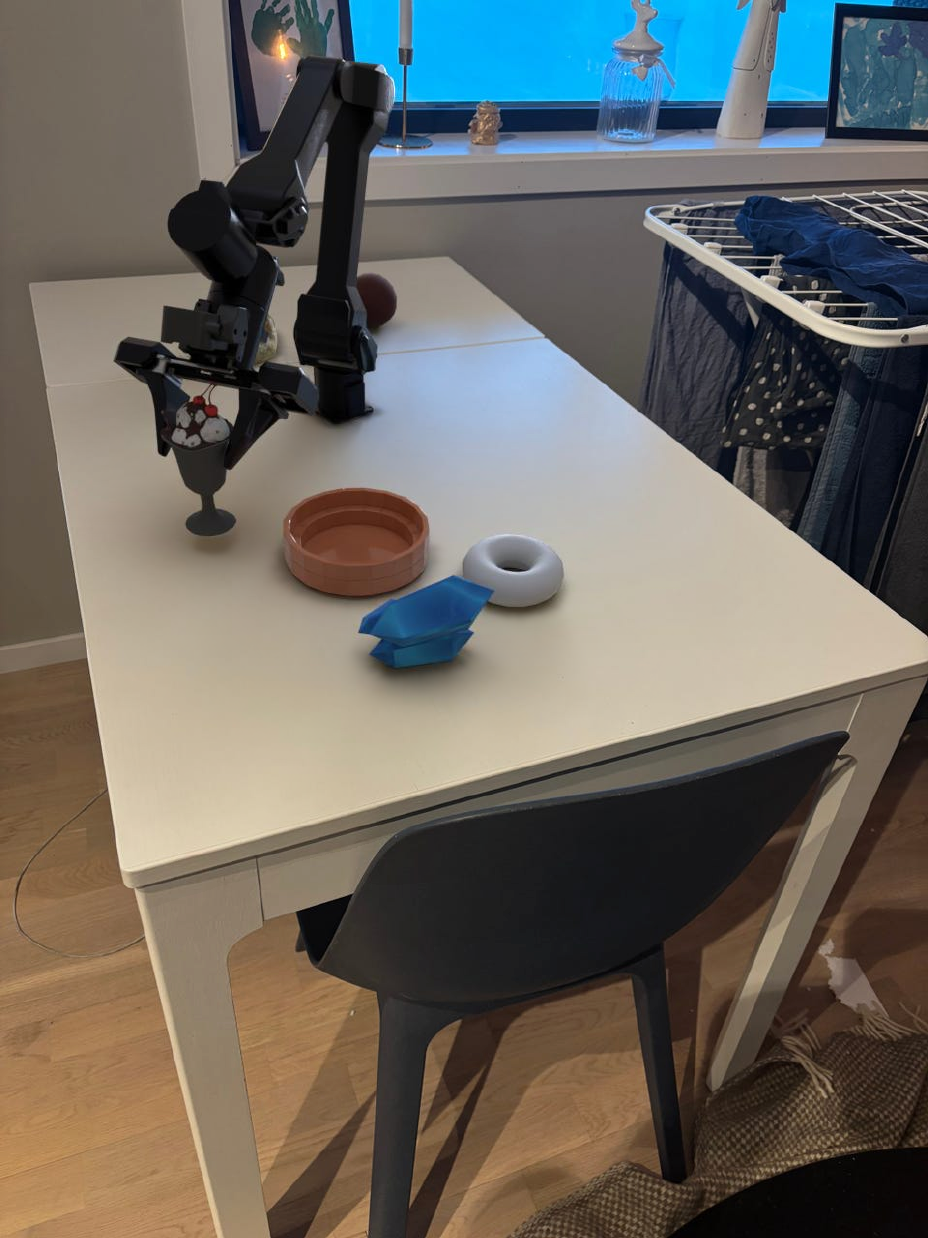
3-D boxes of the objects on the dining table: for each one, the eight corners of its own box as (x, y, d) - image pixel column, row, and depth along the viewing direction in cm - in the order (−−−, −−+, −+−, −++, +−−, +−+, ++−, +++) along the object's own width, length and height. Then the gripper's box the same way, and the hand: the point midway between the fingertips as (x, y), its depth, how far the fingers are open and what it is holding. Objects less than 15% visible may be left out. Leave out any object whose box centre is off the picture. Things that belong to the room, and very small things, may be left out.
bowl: (258, 551, 94) (254, 517, 92) (368, 506, 102) (368, 473, 100) (344, 618, 86) (342, 583, 84) (456, 564, 94) (458, 530, 92)
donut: (443, 569, 94) (491, 624, 87) (444, 540, 92) (493, 594, 85) (529, 548, 98) (581, 599, 91) (532, 519, 95) (586, 569, 88)
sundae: (258, 524, 94) (244, 384, 84) (200, 549, 90) (178, 405, 80) (221, 498, 97) (203, 360, 88) (163, 520, 93) (138, 379, 84)
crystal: (339, 581, 79) (471, 536, 81) (364, 653, 85) (486, 610, 87) (359, 634, 74) (501, 585, 75) (384, 707, 79) (515, 660, 81)
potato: (337, 332, 141) (336, 280, 136) (353, 311, 148) (352, 261, 144) (389, 338, 140) (390, 286, 136) (403, 317, 148) (404, 267, 143)
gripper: (105, 248, 83) (56, 414, 82) (298, 279, 79) (250, 453, 78) (165, 306, 94) (123, 454, 92) (338, 335, 90) (296, 489, 89)
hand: (193, 461), depth 88 cm, fingers closed on sundae, 6 cm apart
